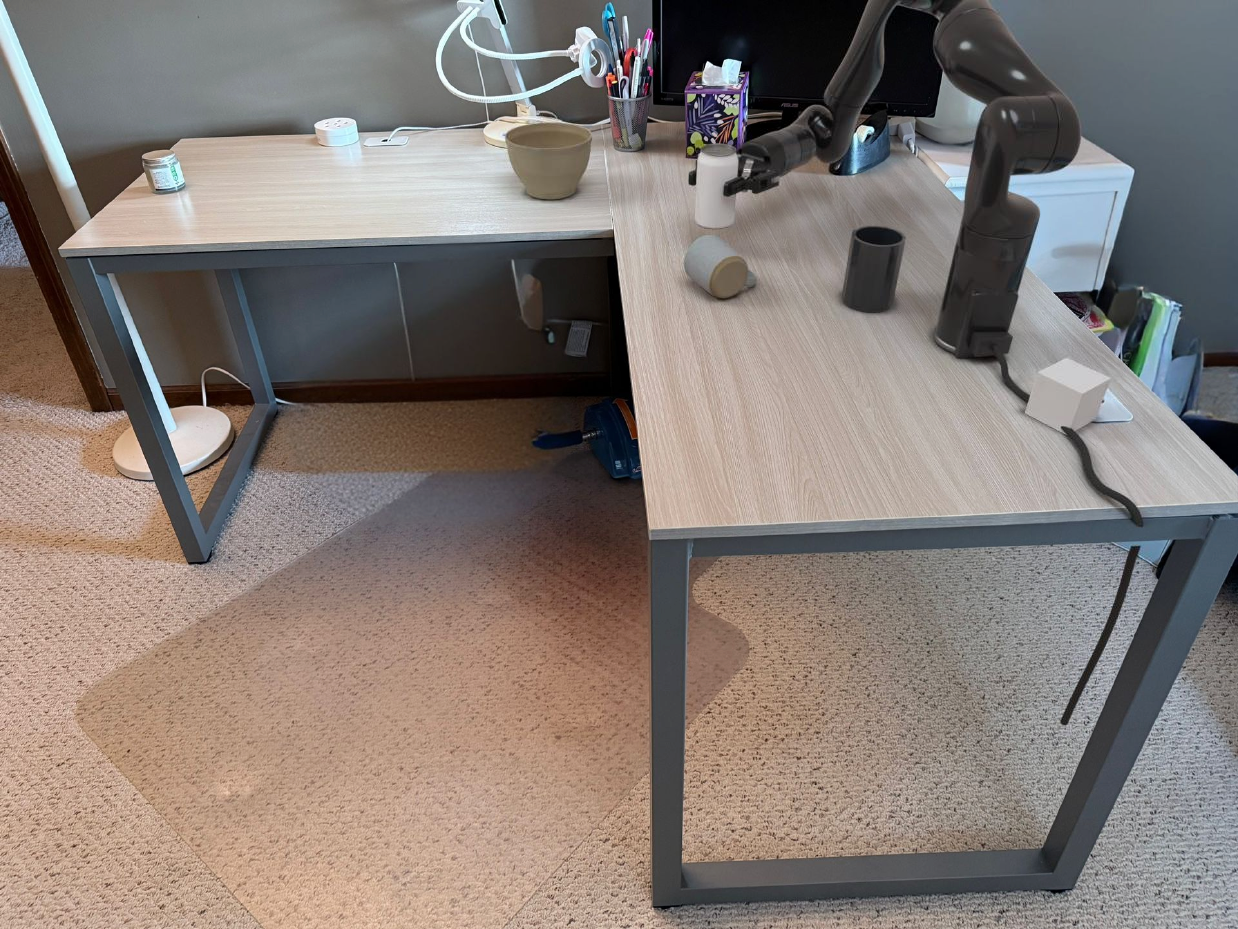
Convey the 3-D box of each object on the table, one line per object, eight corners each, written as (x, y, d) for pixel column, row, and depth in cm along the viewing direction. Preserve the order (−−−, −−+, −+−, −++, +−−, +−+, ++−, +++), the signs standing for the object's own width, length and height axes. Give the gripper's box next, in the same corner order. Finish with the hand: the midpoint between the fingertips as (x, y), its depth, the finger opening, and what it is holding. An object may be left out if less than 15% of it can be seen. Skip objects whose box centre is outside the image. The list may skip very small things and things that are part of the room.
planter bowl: (605, 200, 172) (604, 141, 165) (523, 212, 167) (519, 152, 160) (576, 172, 184) (575, 117, 177) (499, 183, 179) (494, 126, 172)
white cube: (1052, 398, 117) (1066, 357, 113) (1095, 419, 113) (1111, 378, 109) (1024, 413, 114) (1037, 372, 111) (1067, 435, 110) (1082, 393, 107)
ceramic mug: (709, 305, 137) (713, 258, 133) (681, 284, 143) (684, 238, 138) (767, 292, 141) (772, 245, 137) (737, 271, 147) (742, 226, 142)
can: (731, 231, 147) (737, 157, 139) (692, 228, 148) (695, 155, 140) (736, 216, 152) (741, 143, 144) (697, 213, 153) (700, 141, 145)
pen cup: (898, 312, 136) (912, 245, 129) (848, 313, 135) (859, 246, 129) (884, 289, 142) (897, 225, 135) (836, 290, 142) (846, 225, 135)
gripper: (736, 126, 155) (673, 151, 146) (807, 144, 147) (746, 172, 138) (733, 169, 160) (672, 196, 150) (802, 189, 152) (742, 219, 142)
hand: (707, 184), depth 144 cm, fingers closed on can, 6 cm apart
